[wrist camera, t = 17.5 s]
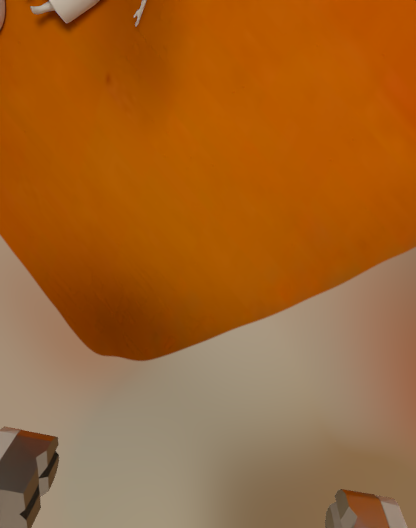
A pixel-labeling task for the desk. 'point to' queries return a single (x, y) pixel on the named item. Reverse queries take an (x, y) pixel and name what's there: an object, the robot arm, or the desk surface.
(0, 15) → the fruit juice
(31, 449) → the robot arm
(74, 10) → the woman figurine
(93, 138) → the desk surface
